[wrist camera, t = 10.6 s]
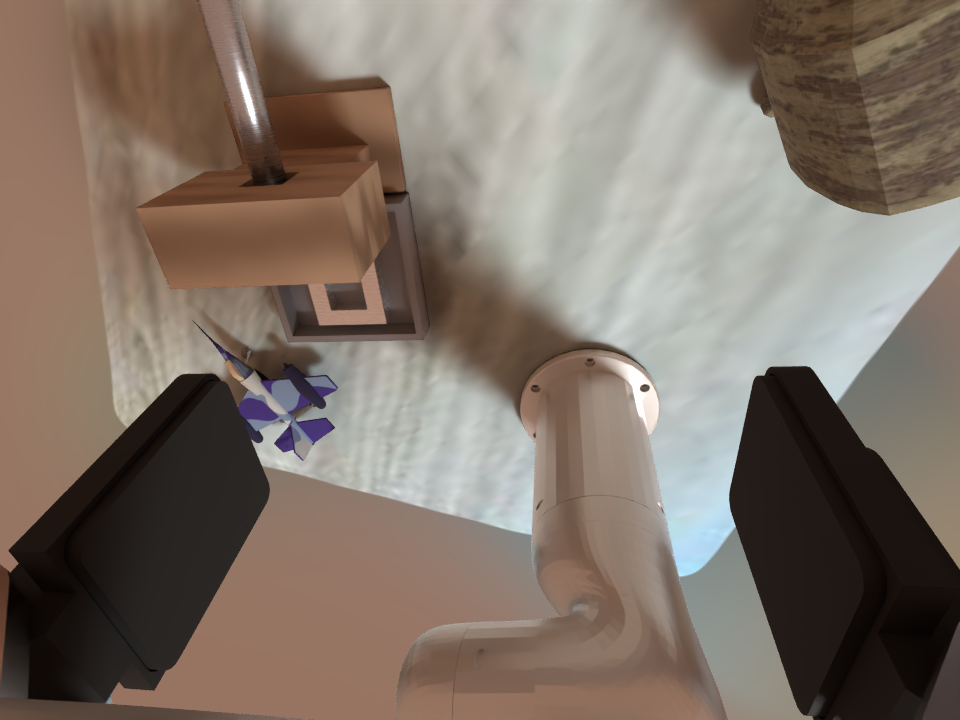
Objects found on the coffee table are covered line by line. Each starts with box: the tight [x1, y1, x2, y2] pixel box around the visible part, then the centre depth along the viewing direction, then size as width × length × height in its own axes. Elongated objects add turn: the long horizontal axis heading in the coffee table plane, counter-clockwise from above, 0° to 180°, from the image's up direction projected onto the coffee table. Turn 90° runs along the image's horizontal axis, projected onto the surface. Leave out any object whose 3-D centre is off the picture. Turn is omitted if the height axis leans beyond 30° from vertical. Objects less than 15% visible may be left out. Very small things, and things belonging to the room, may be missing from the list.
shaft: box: [197, 0, 288, 186], centre depth 28 cm, size 22×4×8 cm, turn 5°
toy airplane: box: [192, 320, 338, 460], centre depth 53 cm, size 13×14×4 cm
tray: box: [270, 193, 430, 342], centre depth 46 cm, size 12×12×2 cm
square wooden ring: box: [308, 255, 391, 325], centre depth 47 cm, size 1×6×6 cm
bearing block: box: [136, 87, 406, 289], centre depth 36 cm, size 8×12×14 cm
